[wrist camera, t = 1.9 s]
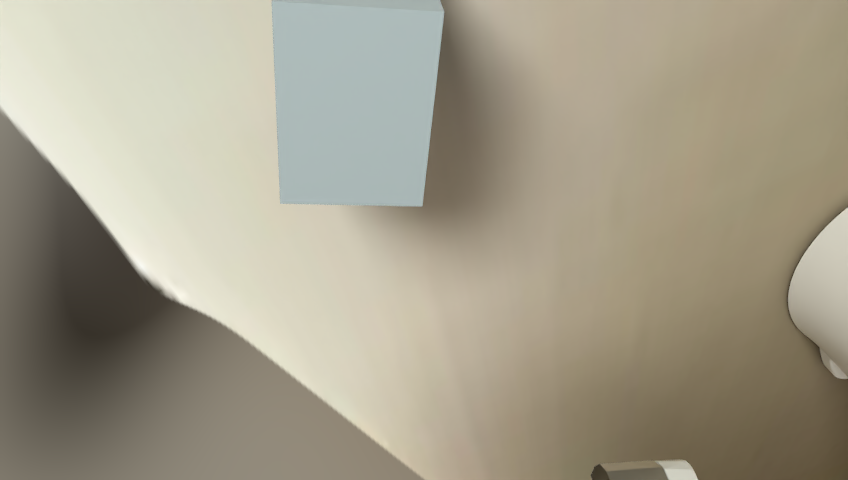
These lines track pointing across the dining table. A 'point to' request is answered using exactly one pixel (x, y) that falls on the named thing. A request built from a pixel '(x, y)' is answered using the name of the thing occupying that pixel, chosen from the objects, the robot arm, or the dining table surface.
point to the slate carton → (355, 99)
